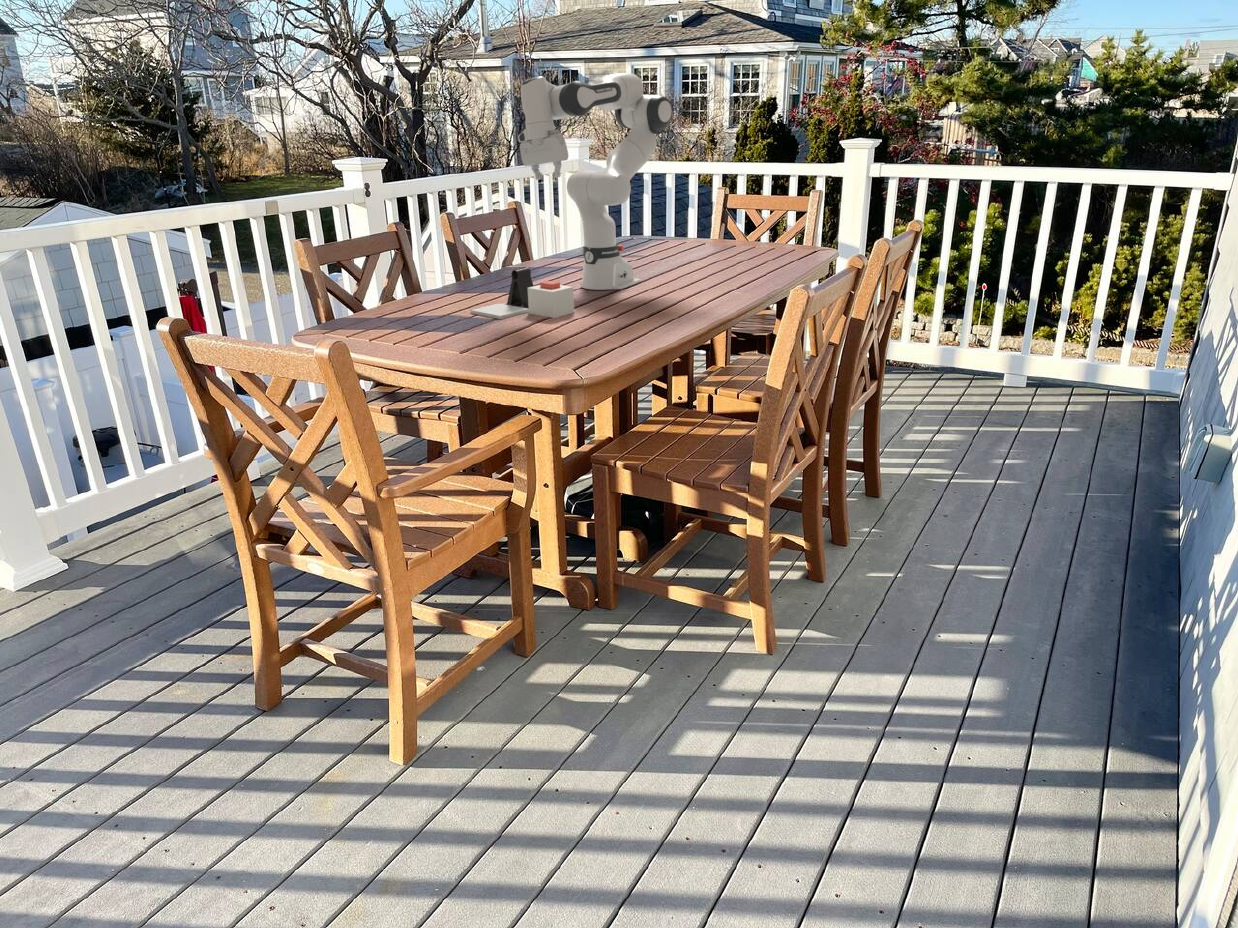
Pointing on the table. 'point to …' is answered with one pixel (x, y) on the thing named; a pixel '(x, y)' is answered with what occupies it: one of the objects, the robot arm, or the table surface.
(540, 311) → the box
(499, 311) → the grey mat
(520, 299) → the phone stand
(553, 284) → the button
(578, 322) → the table surface
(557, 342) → the table surface
